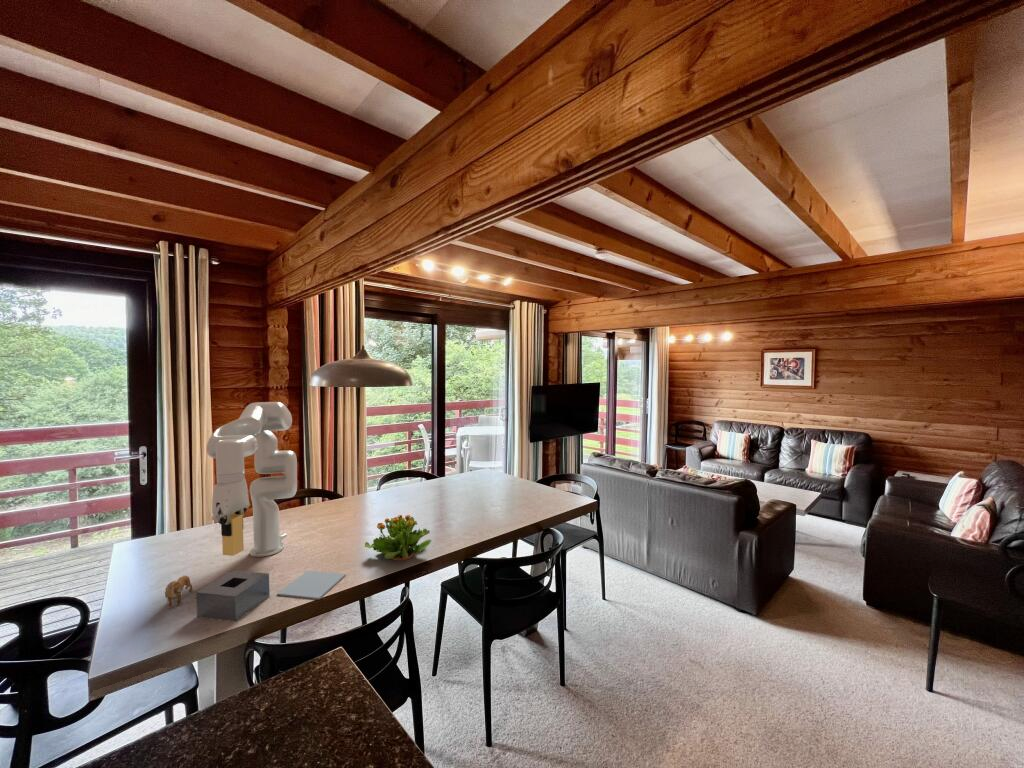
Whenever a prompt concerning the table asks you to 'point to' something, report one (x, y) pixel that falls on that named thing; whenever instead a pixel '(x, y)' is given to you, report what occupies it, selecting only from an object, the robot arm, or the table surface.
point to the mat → (311, 585)
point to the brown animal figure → (177, 589)
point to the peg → (234, 536)
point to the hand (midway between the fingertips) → (232, 532)
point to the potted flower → (399, 539)
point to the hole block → (232, 595)
